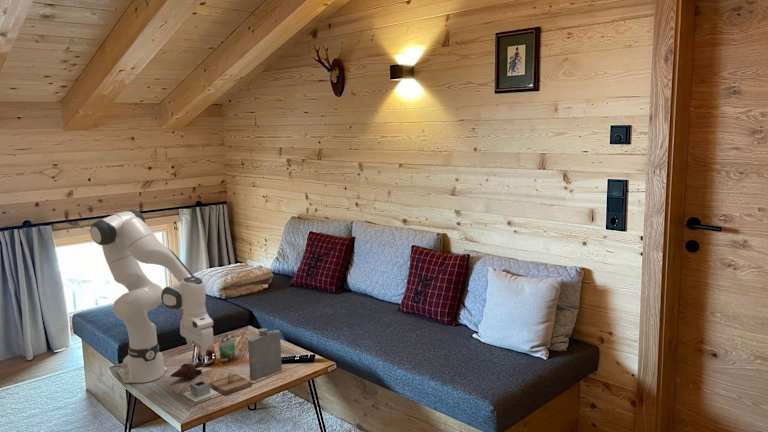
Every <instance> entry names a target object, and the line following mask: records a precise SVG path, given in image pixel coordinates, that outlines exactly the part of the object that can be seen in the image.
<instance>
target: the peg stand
mask: <svg viewBox="0 0 768 432" xmlns="http://www.w3.org/2000/svg"><path fill="white" fill-rule="evenodd" d="M209 383H210V388H211V389H212V390H214V391H216V392H218V393H219V394H222V395H223V396H225V397H226V396H229V395H233V394H235V393H237V392H240V391H243V390H245V389H248V388H251V387H252V386H253V384H252V383H253V381H252V380H249V379H247V378H246V377H243V376H241V375H239V374H238V373H234V374H233V371H228V372H227V376H225V377H222V378H218V379H216V380H213V381H211V382H209Z"/></svg>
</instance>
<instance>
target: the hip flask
mask: <svg viewBox="0 0 768 432" xmlns="http://www.w3.org/2000/svg"><path fill="white" fill-rule="evenodd" d="M281 343H282V342H281V330H279V329H275V330H274V329H273V330H270V331H268V328H266V327H265V328H264V327H263V328H262V327H261V328H259V329H258V335H255V336H251V338H248V339H247V348H248V362H249V365H248V366H249V378H250V380H249V381H251V382H253V381H255V382H256V381H257V380H260V379H261V378H263V377H265V376H269V375H270V374H274V373H276V372H280V371H282V370H283V366H282V365H283V363H282V349H281V348H282V345H281Z"/></svg>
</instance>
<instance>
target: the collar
mask: <svg viewBox="0 0 768 432" xmlns="http://www.w3.org/2000/svg"><path fill="white" fill-rule="evenodd" d="M210 388H211V387H210V382H208V381H207V380H204V379H200V380H198V381H195V382H192V383H189V389H190V391H191V394H192V395H194V396H196V397H197V398H198V397H201V396H204V395H206V394H209V393H210Z"/></svg>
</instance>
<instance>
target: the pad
mask: <svg viewBox="0 0 768 432" xmlns="http://www.w3.org/2000/svg"><path fill="white" fill-rule="evenodd" d="M215 395H219V392H218V391H216V390H214V389H213V388H211V387H210V393H209V394H206V395H204V396H201V397H198V398H197V397H196V396H194V395H192V394H191V391H187V392H184V393H182V396H184V397H186V398H188V399H189V400H191V401H192V402H194V403H198V402H200V401H204V400H205V399H208V398H211V397H214V396H215Z"/></svg>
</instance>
